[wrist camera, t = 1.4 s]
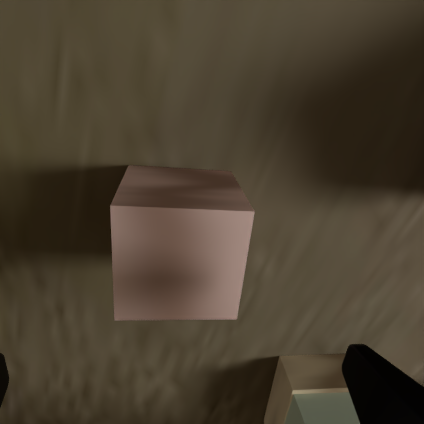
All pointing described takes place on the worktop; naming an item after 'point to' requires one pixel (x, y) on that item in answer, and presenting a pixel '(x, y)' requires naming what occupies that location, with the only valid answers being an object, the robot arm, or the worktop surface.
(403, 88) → the worktop surface
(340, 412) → the sage top block
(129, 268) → the rose cube
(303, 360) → the beech base block
